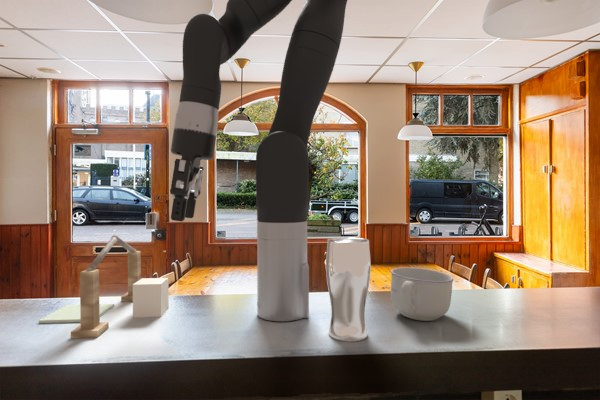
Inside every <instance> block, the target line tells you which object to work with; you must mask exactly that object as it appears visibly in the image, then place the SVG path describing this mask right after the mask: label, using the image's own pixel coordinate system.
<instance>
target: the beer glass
mask: <svg viewBox="0 0 600 400" xmlns="http://www.w3.org/2000/svg"><path fill="white" fill-rule="evenodd" d="M326 241H327V243H326V246H327V247H326V257H325V258H326V259H325V272H326V273H325V274H326V275H325V276H326V284H327V289H328V295H329V302H330V312H331V313H330V314H331V316H330V323H329V328H328V335H329V336H330V337H331V338H332V339H333V340H337V341H340V342H348V343H349V342H351V343H352V342H360V341H363V340H365V339H367V337H368V334H369V333H368V327H367V323H366V322H367V321H366V306H367V305H366V304H367V299H368V294H369V287H370V281H371V270H372V269H371V252H370V251H371V250H370V240H369V239H368V238H361V237H331V238H328V239H327V240H326Z"/></svg>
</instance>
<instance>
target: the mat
mask: <svg viewBox="0 0 600 400" xmlns="http://www.w3.org/2000/svg"><path fill="white" fill-rule="evenodd" d="M114 307H115V303H99V318H101V317H102V316H103V315H104V314H106V313H107V312H109V311H110V310H111V309H113V308H114ZM56 323H57V324H59V323H60V324H61V323H62V324H64V323H81V314H80V304H66V305H64V306H62V307H61V308H59V309H57V310H54V311H53V312H52V313H50V314H48V315H46V316H44V317H42V318H41V319H39V320H38V324H56Z"/></svg>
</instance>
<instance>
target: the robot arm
mask: <svg viewBox="0 0 600 400" xmlns="http://www.w3.org/2000/svg"><path fill="white" fill-rule="evenodd" d="M292 1H293V0H228V1H227V3H226V7H225V11H224V13H223V15H222V16H221V17H220V18H219V19H218V18H217V17H215V16H213V15H211V14H208V13H198V14H196V15H195V16H193V17H192V18H191V19H190V20H189V21H188V23H187V24H186V26H185V29H184V32H183V38H182V73H183V76H182V77H183V78H182V82H181V88H180V93H179V95H180V96H179V103H178V106H177V110H176V113H175V119H174V126H173V127H174V128H173V134H172V139H171V146H170V152H171V153H172V154H173V155H175V156H179V157H181V158H175V160H174V167H173V171H172V172H173V173H172V179H171V185H170V190H169V192H170V195H172V196H171V197H172V200H173V201H172V205H171V206H172V207H171V214H170V219H171V221H177V222H183V221H185V220H186V218H187V219H193V218H194V217H195V211H196V205H197V204H196V203H197V199H198V198H199V196H200V195H201V193H202V191H201V188H202V181H203V174H204V170H205V168H204V165H201V161H203V160H204V161H205V160H206V161H211V160H213V159H214V153H215V147H216V139H217V132H218V126H219V110H220V102H221V95H222V82H221V78H220V77H221V76H220V70H221V65H223V64H225V63H227V62H228V61H229V60H230V59H232V58H233V56H235V55H236V54H237V52H238V51H239V50H240V49H241V48H242V47H243V46H244V45H245V44H246V42H247V41H248V40H249V39H250V38H251V37H252V36H253V34H255V33H256V32H257V31H259V30H260V29H262V28H263V27H264V26H266V25H267V24H269V23H270V22H271V21H272V20H273V19H274V18H276V17H277V16H279V14H281V13H282V12H283V11H284V10H285V9H286V8H287V7H288V6H289V5H290V3H291V2H292ZM347 3H348V0H306V1H305V4H304V5H303V7H302V9H301V11H300V13H299V15H298V17H297V20H296V21H295V24H294V27H293V29H292V33H291V35H290V40H289V43H288V47H287V50H286V53H285V59H284V61H283V67H282V73H281V79H280V86H279V87H280V88H279V95H278V102H277V103H278V104H277V107H276V111H275V115H274V118H273V120H272V123H271V126H270V129H269V131H268V134H267V136H265V137H264V138H263V139H262V140H261V142H260V143H259V145H258V147H257V149H256V154H255V155H256V156H255V187H256V188H255V192H256V196H255V197H256V199H255V200H256V201H255V203H256V222H257V223H256V234H257V235H256V239H257V241H256V244H257V245H256V250H257V253H256V255H257V257H256V260H257V262H256V265H257V266H256V267H257V268H256V270H257V275H256V276H257V277H256V278H257V279H256V283H257V287H256V288H257V289H256V290H257V294H256V295H257V299H256V300H257V302H256V303H257V304H256V305H257V317H259V318H260V319H262V320H266V321H272V322H290V321H297V320H300V319H308V318H309V317H310V305H309V304H310V300H309V299H310V292H309V291H310V289H309V288H310V285H309V284H310V281H309V280H310V279H309V278H310V270H309V269H310V265H309V264H308V210H309V209H308V208H309V176H310V175H309V173H310V172H309V170H310V168H309V167H310V166H309V164H310V163H309V161H310V160H309V153H308V144H309V141H310V140H309V139H310V133H311V130H312V124H313V121H314V117H315V115H316V112H317V111H318V107H319V106H320V103H321V101H322V100H323V96H324V94H325V92H326V89H327V88H328V84H329V83H330V82H329V81H330V79H331V77H332V74H333V71H334V69H335V68H334V67H335V64H336V60H337V58H338V54H339V51H340V46H341V43H342V37H343V33H344V25H345V17H346V9H347Z"/></svg>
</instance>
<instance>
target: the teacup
mask: <svg viewBox="0 0 600 400" xmlns="http://www.w3.org/2000/svg"><path fill="white" fill-rule="evenodd" d="M390 273H391V280H390V300H391V303H392V305H393V307H394V308H395V309H397V311H398V312H399V313H400V315H402V316H403V317H406V318H409V319H411V320H414V321H415V320H416V321H424V322H432V321H437V320H438V319H439V318H441V317H442V316H444V315H446V314H447V313H448V311H449V309H450V306H451V301H452V293H453V282H454V277H453V276H452V275H451V274H449V273H447V272H443V271H438V270H434V269H428V268H424V267H423V268H421V267H395V268H392V269H391V270H390Z"/></svg>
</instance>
